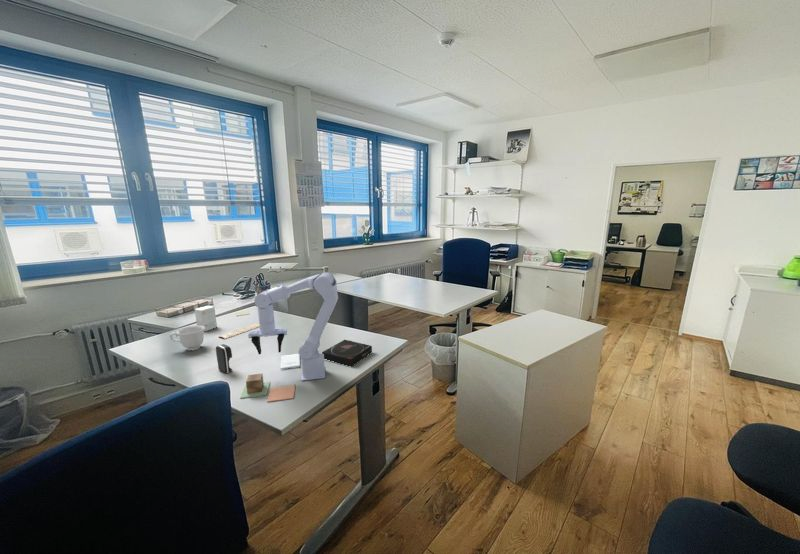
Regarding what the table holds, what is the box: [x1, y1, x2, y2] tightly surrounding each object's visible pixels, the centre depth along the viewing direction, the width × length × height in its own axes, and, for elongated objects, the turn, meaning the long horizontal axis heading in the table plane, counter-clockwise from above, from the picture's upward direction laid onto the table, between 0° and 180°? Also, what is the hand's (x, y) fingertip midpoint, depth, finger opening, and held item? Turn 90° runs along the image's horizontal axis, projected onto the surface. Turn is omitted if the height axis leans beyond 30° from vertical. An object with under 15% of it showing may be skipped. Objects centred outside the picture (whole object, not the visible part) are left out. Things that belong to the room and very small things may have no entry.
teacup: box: [169, 325, 205, 351], centre depth 160 cm, size 12×15×10 cm
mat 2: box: [266, 384, 296, 403], centre depth 121 cm, size 9×9×1 cm
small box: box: [194, 305, 218, 333], centre depth 187 cm, size 8×6×13 cm
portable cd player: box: [321, 339, 373, 368], centre depth 152 cm, size 16×17×4 cm
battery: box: [215, 343, 233, 374], centre depth 138 cm, size 7×4×11 cm, turn 55°
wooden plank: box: [218, 323, 260, 340], centre depth 184 cm, size 24×7×2 cm, turn 150°
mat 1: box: [240, 381, 271, 399], centre depth 123 cm, size 9×9×1 cm
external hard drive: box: [279, 353, 301, 371], centre depth 146 cm, size 2×8×12 cm
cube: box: [245, 373, 265, 394], centre depth 123 cm, size 5×5×5 cm
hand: (269, 352), depth 132 cm, fingers open, 7 cm apart
